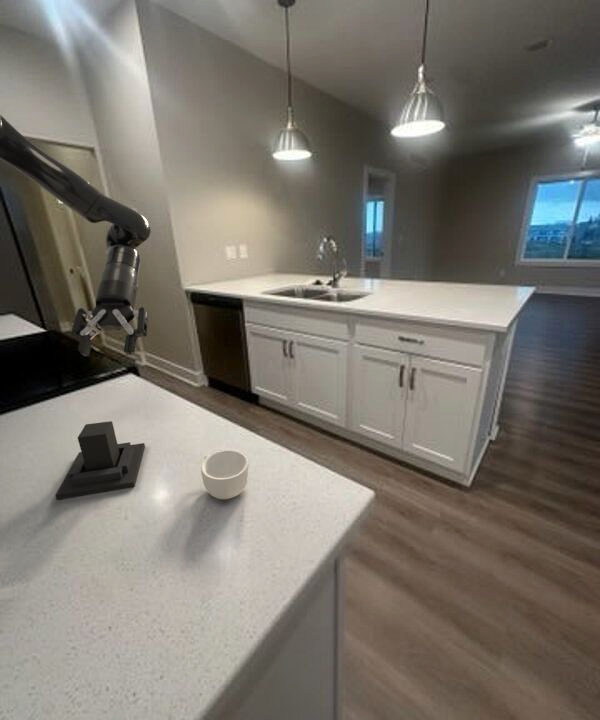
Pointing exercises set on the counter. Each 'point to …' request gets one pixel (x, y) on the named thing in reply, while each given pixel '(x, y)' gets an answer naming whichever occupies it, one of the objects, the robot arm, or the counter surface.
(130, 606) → the counter surface
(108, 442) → the dark grey rectangular block
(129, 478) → the base pad
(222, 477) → the teacup
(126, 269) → the robot arm
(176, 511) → the counter surface
